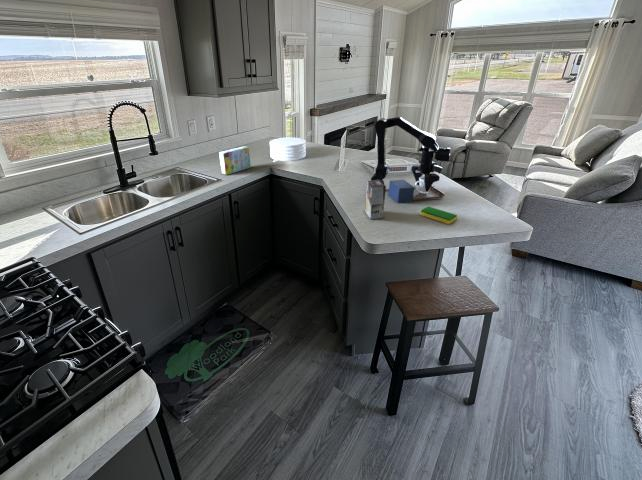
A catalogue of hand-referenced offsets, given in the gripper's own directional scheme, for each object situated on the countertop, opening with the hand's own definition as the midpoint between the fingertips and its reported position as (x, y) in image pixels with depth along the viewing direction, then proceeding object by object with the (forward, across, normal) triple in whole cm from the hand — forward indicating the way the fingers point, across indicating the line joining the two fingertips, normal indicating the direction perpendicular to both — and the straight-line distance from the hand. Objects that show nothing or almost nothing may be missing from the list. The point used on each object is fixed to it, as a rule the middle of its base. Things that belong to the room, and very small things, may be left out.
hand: (422, 188), depth 174 cm
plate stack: (+5, +97, +60) cm, 114 cm away
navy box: (+5, 0, +3) cm, 6 cm away
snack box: (+5, +67, +100) cm, 120 cm away
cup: (+3, 0, 0) cm, 3 cm away
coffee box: (+5, -17, +33) cm, 38 cm away
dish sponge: (+5, -25, +5) cm, 26 cm away
